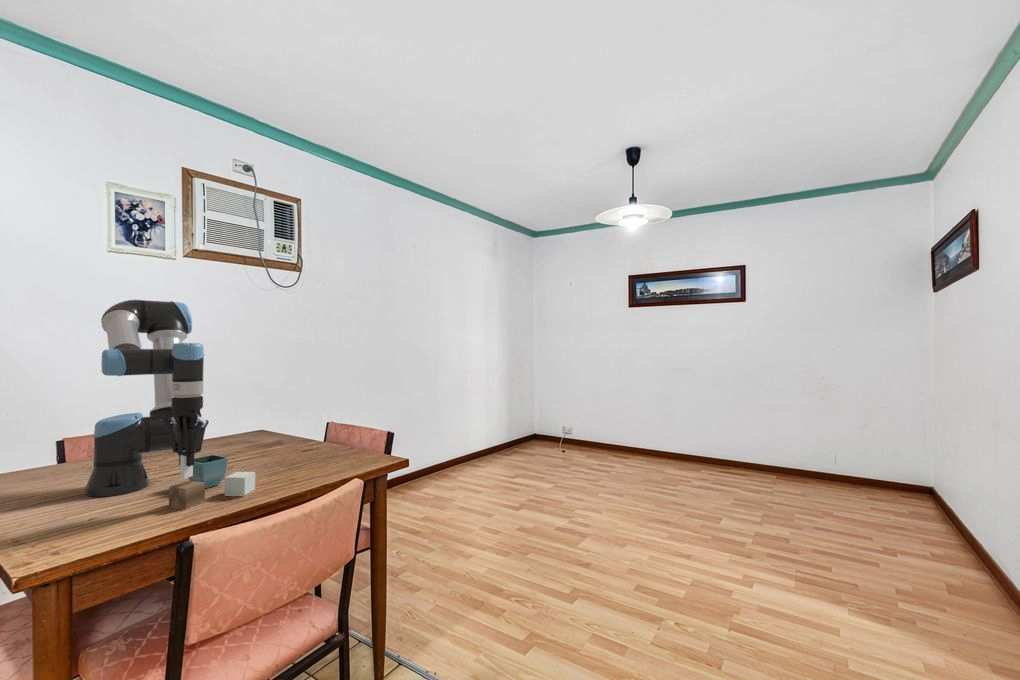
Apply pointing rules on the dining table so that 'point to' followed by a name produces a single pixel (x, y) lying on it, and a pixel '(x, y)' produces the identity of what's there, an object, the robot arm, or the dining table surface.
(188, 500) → the walnut block
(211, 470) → the flower pot
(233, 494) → the grey-green block
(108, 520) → the dining table surface
